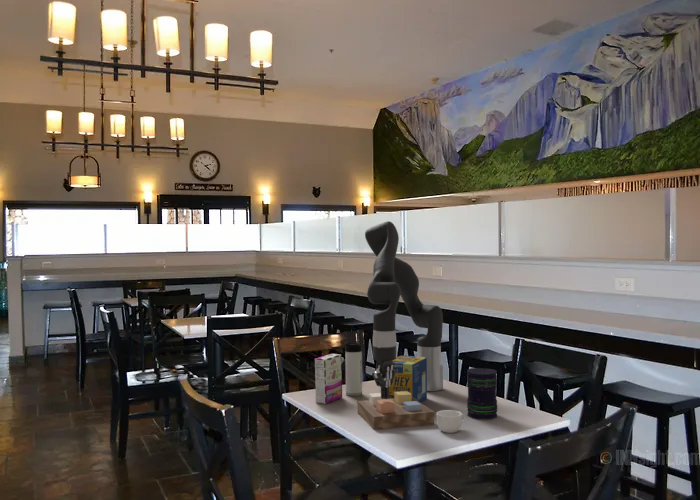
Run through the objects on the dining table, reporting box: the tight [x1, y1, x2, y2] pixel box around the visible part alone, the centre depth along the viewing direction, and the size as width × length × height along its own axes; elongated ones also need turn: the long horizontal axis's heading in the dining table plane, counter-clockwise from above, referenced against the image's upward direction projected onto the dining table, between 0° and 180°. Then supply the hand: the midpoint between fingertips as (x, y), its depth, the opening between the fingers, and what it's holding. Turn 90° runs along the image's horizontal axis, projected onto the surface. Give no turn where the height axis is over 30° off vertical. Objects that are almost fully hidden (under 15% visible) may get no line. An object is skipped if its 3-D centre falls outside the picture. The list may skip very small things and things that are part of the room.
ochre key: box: [394, 391, 412, 404], centre depth 204 cm, size 5×5×4 cm
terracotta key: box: [376, 399, 395, 414], centre depth 193 cm, size 5×5×4 cm
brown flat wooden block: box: [356, 397, 435, 431], centre depth 199 cm, size 20×20×4 cm
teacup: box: [436, 409, 466, 434], centre depth 185 cm, size 10×8×5 cm
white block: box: [368, 392, 386, 406], centre depth 202 cm, size 5×5×4 cm
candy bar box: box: [314, 353, 343, 405], centre depth 223 cm, size 11×5×16 cm, turn 148°
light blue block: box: [403, 401, 421, 411], centre depth 195 cm, size 5×5×4 cm
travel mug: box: [344, 342, 363, 397], centre depth 231 cm, size 6×7×20 cm
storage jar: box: [466, 367, 498, 421], centre depth 201 cm, size 10×10×15 cm
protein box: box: [388, 354, 428, 403], centre depth 220 cm, size 10×15×16 cm
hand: (384, 398), depth 193 cm, fingers closed
